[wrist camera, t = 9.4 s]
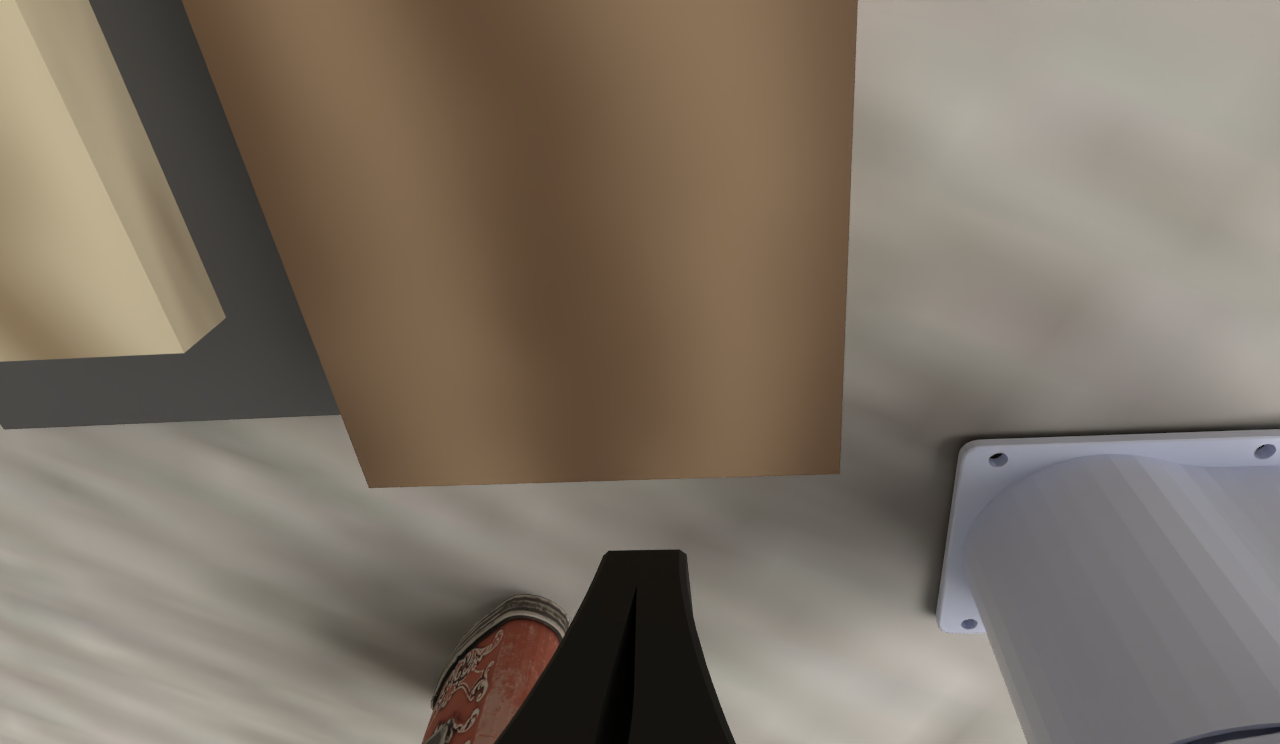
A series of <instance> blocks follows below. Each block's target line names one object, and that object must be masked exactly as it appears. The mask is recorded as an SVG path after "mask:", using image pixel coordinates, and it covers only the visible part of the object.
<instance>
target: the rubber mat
mask: <svg viewBox="0 0 1280 744" xmlns="http://www.w3.org/2000/svg"><path fill="white" fill-rule="evenodd" d="M89 2H90V5H91V7H92V9H93V12H94V14H95V16H96V19H97V21H98V23H99V25H100V28H101V30H102V32H103V35H104V37H105V39H106V42H107V44H108V46H109V48H110V51H111V53H112V55H113V58H114V60H115V62H116V65H117V67H118V69H119V72H120V74H121V76H122V78H123V81H124V83H125V85H126V88H127V90H128V92H129V95H130V97H131V99H132V102H133V104H134V106H135V108H136V111H137V113H138V115H139V118H140V120H141V122H142V125H143V127H144V129H145V132H146V134H147V136H148V138H149V141H150V143H151V145H152V148H153V150H154V152H155V155H156V157H157V159H158V162H159V164H160V166H161V168H162V171H163V173H164V175H165V178H166V180H167V182H168V185H169V187H170V189H171V191H172V194H173V196H174V198H175V201H176V203H177V205H178V208H179V210H180V212H181V215H182V217H183V219H184V221H185V224H186V226H187V228H188V231H189V233H190V235H191V238H192V240H193V242H194V245H195V247H196V249H197V251H198V254H199V256H200V258H201V261H202V263H203V265H204V268H205V270H206V272H207V275H208V277H209V279H210V281H211V284H212V286H213V288H214V291H215V293H216V295H217V298H218V300H219V302H220V305H221V307H222V309H223V311H224V314H225V316H226V318H225V319H224V320H223V321H222V322H220V323H219V324H218V325H217V326H216V327H215V328H213V329H212V330H211V331H210V332H209V333H207V334H206V335H205V336H204V337H203V338H202V339H200V340H199V341H198V342H197V343H196V344H194V345H193V346H192V347H191V348H190V349H188V350H187V351H186V352H185V353H176V354H155V355H133V356H112V357H90V358H68V359H47V360H25V361H3V362H0V424H1V426H2V427H3V429H23V428H46V427H69V426H92V425H115V424H138V423H161V422H184V421H207V420H230V419H253V418H276V417H299V416H322V415H341V414H340V411H339V408H338V406H337V403H336V401H335V398H334V395H333V393H332V390H331V388H330V385H329V382H328V380H327V377H326V375H325V372H324V369H323V367H322V364H321V362H320V359H319V356H318V354H317V351H316V349H315V346H314V343H313V341H312V338H311V336H310V333H309V330H308V328H307V325H306V323H305V320H304V317H303V315H302V312H301V310H300V307H299V304H298V302H297V299H296V297H295V294H294V291H293V289H292V286H291V284H290V281H289V278H288V276H287V273H286V271H285V268H284V265H283V263H282V260H281V258H280V255H279V252H278V250H277V247H276V245H275V242H274V239H273V237H272V234H271V232H270V229H269V226H268V224H267V221H266V219H265V216H264V213H263V211H262V208H261V206H260V203H259V200H258V198H257V195H256V192H255V190H254V187H253V185H252V182H251V179H250V177H249V174H248V172H247V169H246V166H245V164H244V161H243V159H242V156H241V153H240V151H239V148H238V146H237V143H236V140H235V138H234V135H233V133H232V130H231V127H230V125H229V122H228V120H227V117H226V114H225V112H224V109H223V107H222V104H221V101H220V99H219V96H218V94H217V91H216V88H215V86H214V83H213V81H212V78H211V75H210V73H209V70H208V68H207V65H206V62H205V60H204V57H203V55H202V52H201V49H200V47H199V44H198V42H197V39H196V36H195V34H194V31H193V29H192V26H191V23H190V21H189V18H188V16H187V13H186V10H185V8H184V5H183V3H182V0H89Z"/></svg>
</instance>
